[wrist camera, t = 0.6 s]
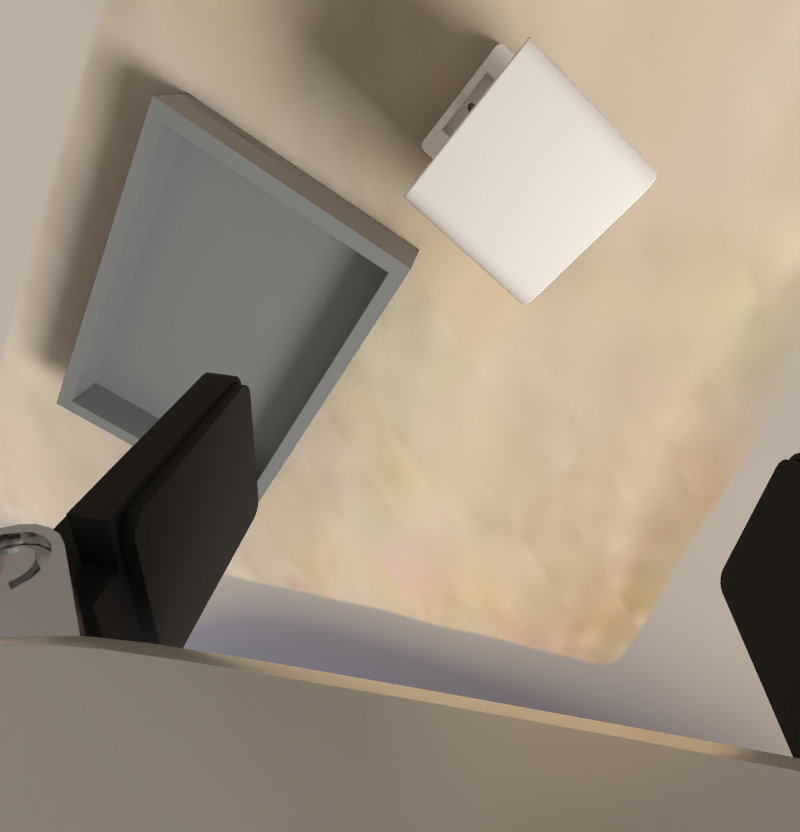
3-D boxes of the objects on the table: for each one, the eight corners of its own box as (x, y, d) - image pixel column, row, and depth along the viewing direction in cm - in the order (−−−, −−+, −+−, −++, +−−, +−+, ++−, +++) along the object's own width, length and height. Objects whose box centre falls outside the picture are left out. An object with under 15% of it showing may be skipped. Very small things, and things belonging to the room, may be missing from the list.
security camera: (516, 244, 30) (523, 311, 22) (416, 150, 29) (382, 184, 20) (612, 143, 27) (664, 176, 19) (506, 32, 26) (510, 13, 17)
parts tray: (188, 93, 29) (152, 95, 26) (419, 250, 31) (410, 268, 28) (90, 378, 39) (56, 403, 36) (270, 480, 41) (252, 511, 38)
